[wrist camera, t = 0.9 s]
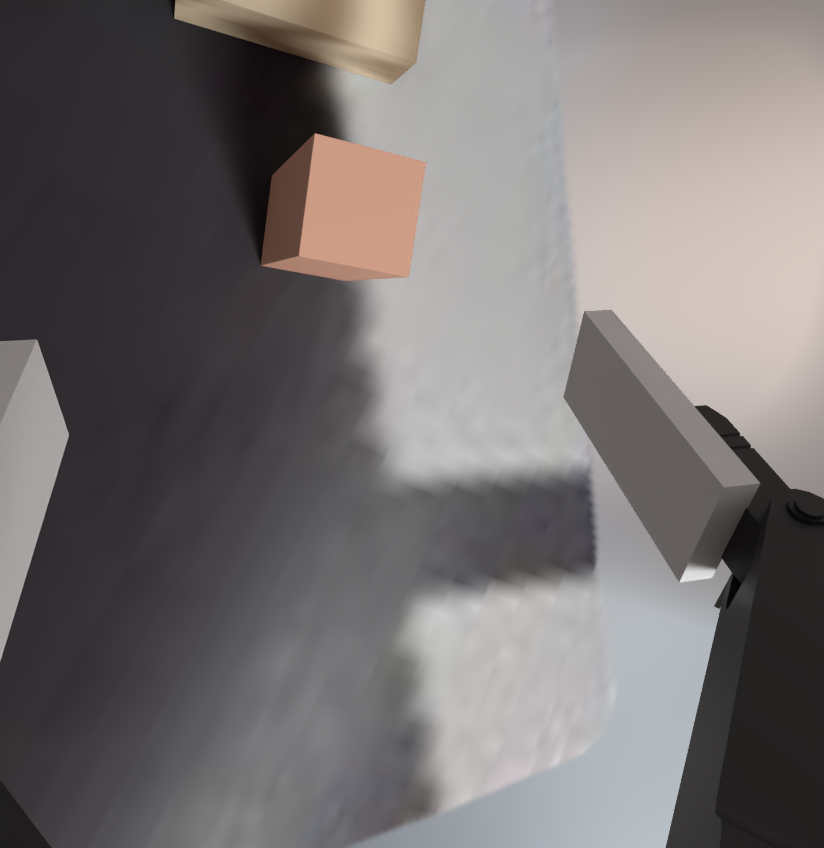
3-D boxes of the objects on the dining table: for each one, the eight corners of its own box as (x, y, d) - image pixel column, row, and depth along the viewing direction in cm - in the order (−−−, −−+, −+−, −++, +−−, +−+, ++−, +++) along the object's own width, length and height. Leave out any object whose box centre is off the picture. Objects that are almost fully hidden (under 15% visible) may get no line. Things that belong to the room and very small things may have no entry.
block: (260, 265, 39) (298, 256, 29) (271, 175, 38) (314, 133, 28) (344, 280, 40) (408, 277, 30) (356, 195, 40) (426, 162, 30)
